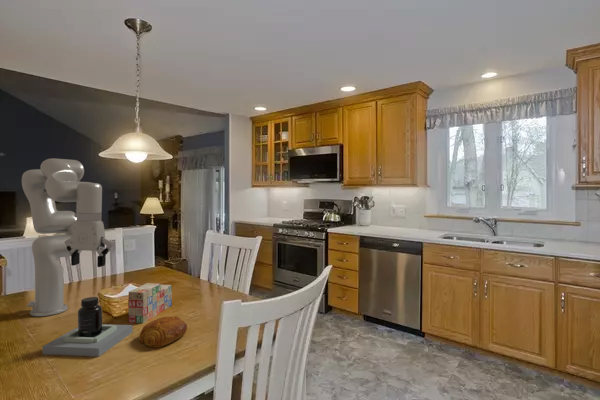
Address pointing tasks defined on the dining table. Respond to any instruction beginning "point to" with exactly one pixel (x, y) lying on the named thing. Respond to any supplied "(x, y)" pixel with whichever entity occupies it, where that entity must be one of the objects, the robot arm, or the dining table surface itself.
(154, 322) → the croissant
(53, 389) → the dining table surface
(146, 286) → the stack of blocks
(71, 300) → the dining table surface
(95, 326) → the supplement bottle
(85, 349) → the base plate
